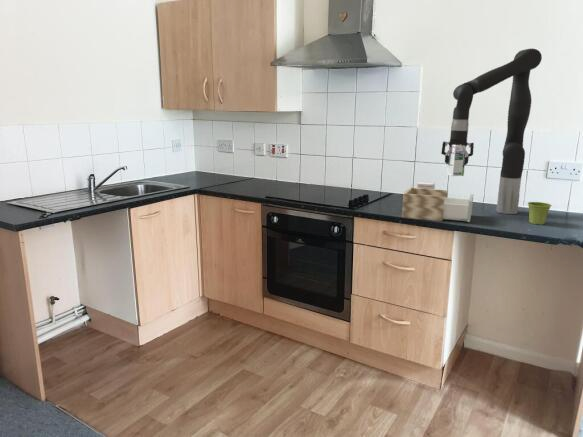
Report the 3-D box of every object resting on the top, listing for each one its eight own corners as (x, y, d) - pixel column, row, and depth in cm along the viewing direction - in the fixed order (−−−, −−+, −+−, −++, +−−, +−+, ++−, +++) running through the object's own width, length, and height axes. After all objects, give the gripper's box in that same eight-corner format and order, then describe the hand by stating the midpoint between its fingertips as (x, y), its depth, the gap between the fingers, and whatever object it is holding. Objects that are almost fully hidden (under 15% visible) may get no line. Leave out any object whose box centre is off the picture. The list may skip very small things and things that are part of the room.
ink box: (415, 205, 245) (416, 182, 243) (416, 203, 250) (418, 181, 247) (432, 206, 243) (434, 184, 240) (433, 205, 247) (435, 182, 244)
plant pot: (553, 224, 210) (556, 205, 208) (540, 226, 205) (543, 207, 203) (533, 219, 217) (536, 201, 215) (520, 222, 213) (523, 203, 211)
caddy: (446, 213, 229) (448, 190, 227) (442, 221, 213) (444, 197, 210) (408, 209, 236) (409, 187, 233) (401, 217, 220) (403, 193, 217)
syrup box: (452, 176, 224) (455, 145, 220) (446, 174, 229) (449, 144, 226) (463, 176, 225) (466, 145, 221) (457, 174, 230) (460, 144, 227)
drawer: (471, 213, 225) (473, 194, 223) (469, 222, 209) (471, 201, 206) (432, 210, 231) (433, 191, 229) (427, 218, 215) (428, 198, 213)
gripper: (476, 129, 223) (472, 164, 226) (444, 128, 228) (441, 162, 232) (475, 130, 216) (471, 166, 220) (442, 129, 221) (439, 164, 225)
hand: (456, 164), depth 226 cm, fingers closed on syrup box, 8 cm apart
